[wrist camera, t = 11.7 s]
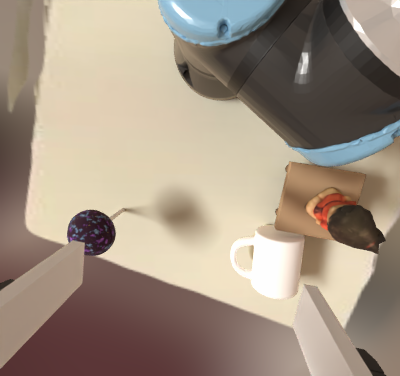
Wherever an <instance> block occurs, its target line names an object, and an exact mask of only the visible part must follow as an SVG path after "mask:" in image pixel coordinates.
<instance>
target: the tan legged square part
mask: <svg viewBox="0 0 400 376" xmlns="http://www.w3.org/2000/svg"><path fill="white" fill-rule="evenodd" d="M285 170H286V172H287V174H286V178H285V183H284V187H283V191H282V195H281V200H280V204H279V208H278V209H276V211H275V213H276V215H277V217H276V221H275V225H274V227H275V229H276V230H279V231H284V232H290V233H296V234H301V235H307V236H312V237H318V238H323V239H329V240H335V239H334V238H333V237H331V234H330V233H329V231H328V230H326V229H324V228H322V227H321V225H318V224H317V223H316V219H314V218H312V217H310V216H309V215H308V214H307V212H306V211H305V205H306V203H307V202H308V201H309V200H311V199H312V198H313V197H314V196H316V195H317V194H319V193H320V192H322V191H323V190H325V189H327V188H330V187H333V188H336V189H337V190H339V191H340V192H341V193H342V195H344V196H349V197H350V198H351V201H356V205H357V204H358V200H359V197H360V194H361V190H362V187H363V184H364V181H365V177H366V174H362V173H357V172H351V171H345V170H339V169H333V168H326V167H320V166H314V165H308V164H302V163H296V162H290V161H289V165H287V166H286V168H285ZM335 241H336V240H335Z"/></svg>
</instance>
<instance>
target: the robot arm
mask: <svg viewBox="0 0 400 376" xmlns="http://www.w3.org/2000/svg"><path fill="white" fill-rule="evenodd" d="M158 4H159V9H160V11H161V15H162V16H163V19H164V21H165V23H166V24H167V25H168V27H169V29H170V30H171V32H172V34H173V36H174V38H175V40H174V55H175V61H176V65H177V68H178V70H179V72H180V74H181V76H182V78H183V79H184V81H185V82H186V83H187V85H188V86H189V87H190V88H191V89H192V90H193V91H195V92H196V93H198V94H199V95H201V96H203V97H206V98H209V99H213V100H228V99H232V98H235V97H238V98H239V99H240V100H241V101H242V102H243V103H244V104H245V105H246V106H247V107H249V108H250V109H251V110H252V111H253V112H254V113H255V114H256V115H257V116H258V117H259V118H261V119H262V120H263V121H264V122H265V123H266V124H267V125H268V126H269V127H270V128H271V129H273V130H274V131H275V132H276V133H277V134H278V135H279V136H280V137H281V138H282V139H283V140H284V141H285V143H286V144H287V145H288V146H289V147H290V148H292V149H293V150H295V151H298V152H299V153H300V154H301V155H303V156H304V157H305V158H306V159H307V160H309V161H310V162H312V163H314V164H316V165H319V166H327V167H333V166H340V165H345V164H349V163H353V162H356V161H359V160H361V159H364V158H366V157H368V156H371V155H373V154H375V153H377V152H379V151H381V150H382V149H384V148H386V147H387V146H389V145H391V144H392V143H393V142H394V138H395V137H397V136H400V0H158ZM84 247H85V243H83V242H78V241H71V242H70V243H68V244H67V245H65V246H64V247H63V248H61V249H60V250H58V251H57V252H55V253H54V254H52V255H51V256H50V257H48V258H47V259H45V260H44V261H42V262H41V263H39V264H38V265H37V266H35V267H34V268H32V269H31V270H29V271H28V272H27V273H25V274H24V275H22V276H21V277H19V278H18V279H16V280H11V279H10V280H7V281H4V282H2V283H0V369H1V367H2V366H3V365H4V364H5V363H6V362H7V361H8V360H9V359H10V358H11V357H12V356H13V355H14V354H15V353H16V352H17V351H18V350H19V349H20V348H21V346H23V345H24V343H25V342H26V341H27V340H28V339H29V338H30V337H31V336H32V335H33V334H34V333H35V332H36V331H37V330H38V329H39V328H40V327H41V326H42V325H43V323H45V322H46V320H47V319H48V318H49V317H50V316H51V315H52V314H53V313H54V312H55V311H56V310H57V309H58V308H59V307H60V306H61V305H62V304H63V303H64V302H65V301H66V300H67V299H68V298H69V297H70V295H71V294H72V293H73V292H74V291H75V290H76V289H77V288H78V287H79V286H80V285H81V284H82V279H83V263H84ZM293 328H294V330H295V333H296V336H297V339H298V341H299V344H300V346H301V349H302V352H303V354H304V357H305V360H306V363H307V365H308V368H309V371H310V373H311V376H386V375H384V372H383V370H382V369H381V367H380V366H379V364H378V363H377V361H376V360H375V359H374V358H373V357H372V356H371V355H369V354H368V353H367V352H366V351H365V350H364V349H359V348H355V347H354V345H353V343H352V342H351V340H350V339H349V337H348V335H347V334H346V332H345V331H344V329H343V327H342V326H341V324H340V323H339V321H338V319H337V318H336V316H335V315H334V313H333V311H332V310H331V308H330V307H329V305H328V303H327V302H326V300H325V299H324V297H323V295H322V294H321V292H320V291H319V289H318V287H315V286H310V285H305V284H304V285H303V289H302V292H301V296H300V300H299V303H298V307H297V310H296V314H295V318H294V321H293Z"/></svg>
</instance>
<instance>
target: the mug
mask: <svg viewBox="0 0 400 376" xmlns="http://www.w3.org/2000/svg"><path fill="white" fill-rule="evenodd" d="M304 242H305V237H304V235H301V234H296V233H290V232H284V231H279V230H276V229H275V227H274V225H265V226H261V227H258V228H257V229H256V232H255V236H249V237H243V238H240V239H238V240H237V241H235V243H234V244H233V245H232V248H231V253H230V257H231V263H232V265H233V267H234V269H235V270H236V272H237V273H238V274H240V275H241V276H243V277H245V278H248V279H251V284H252V286H253V287H254V289H255V290H256V291H258V292H259V293H261V294H262V295H264V296H267V297H270V298H274V299H289V298H292V297H294V296H295V295H296V294H297V292H298V286H299V279H300V271H301V264H302V256H303V249H304ZM248 245H254V254H253V265H252V270H247V269H244V268H242V267H240V266H239V265H238V263H237V260H236V253H237V250H238V249H239V248H241V247H243V246H248Z"/></svg>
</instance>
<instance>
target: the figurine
mask: <svg viewBox="0 0 400 376" xmlns="http://www.w3.org/2000/svg"><path fill="white" fill-rule="evenodd" d="M305 211H306V212H307V214H308V215H309V216H310V217H312V218H314V219H316V223H317V224H318V225H321V227H322V228H324V229H326V230H328V231H329V233H330V234H331V237H333V238H334V239H335V240H336V241H338V242H340V243H343V244H345V245H348V246H351V247H353V248H357V249H363V250H367V251H372V252H374V253H376V254H378V253H379V252H378V250H379V244H380V243H382V242H384V241H385V238H384V236H383V234H382V232H381V231H380V230H379V229H378V228H376V225H375V222H374V220H373V216H372V214H371V212H370V211H368V210H366V209H364V208H363V207H362V206H360V205H356V201H351V198H350V197H349V196H344V195H342V193H341V192H340V191H339V190H337V189H336V188H333V187H330V188H327V189H325V190H323V191H322V192H320V193H319V194H317V195H316V196H314V197H313V198H312V199H311V200H309V201H308V202H307V203H306V205H305Z"/></svg>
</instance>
